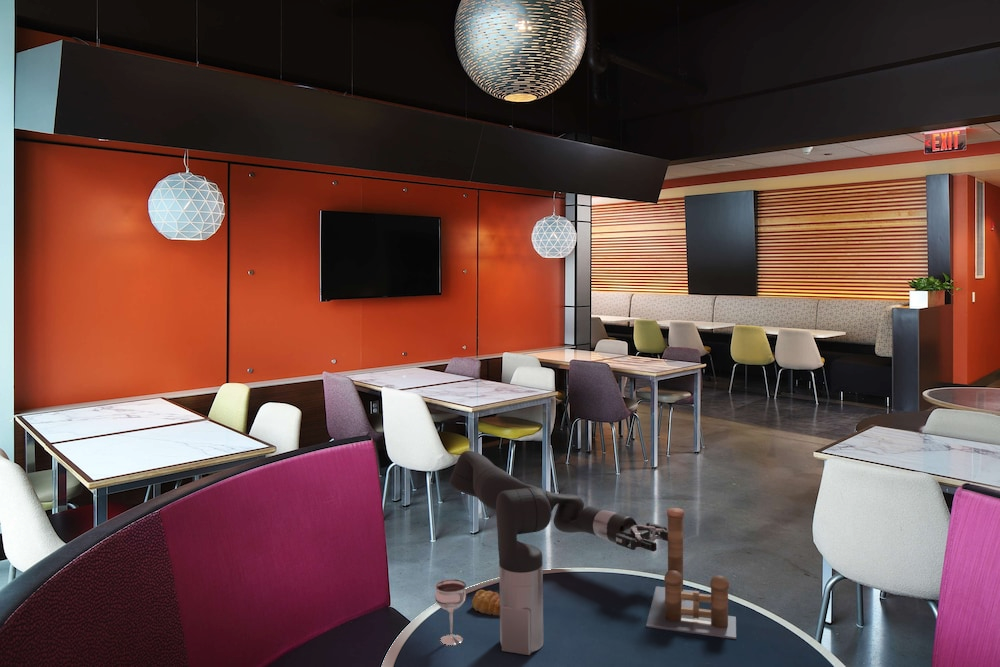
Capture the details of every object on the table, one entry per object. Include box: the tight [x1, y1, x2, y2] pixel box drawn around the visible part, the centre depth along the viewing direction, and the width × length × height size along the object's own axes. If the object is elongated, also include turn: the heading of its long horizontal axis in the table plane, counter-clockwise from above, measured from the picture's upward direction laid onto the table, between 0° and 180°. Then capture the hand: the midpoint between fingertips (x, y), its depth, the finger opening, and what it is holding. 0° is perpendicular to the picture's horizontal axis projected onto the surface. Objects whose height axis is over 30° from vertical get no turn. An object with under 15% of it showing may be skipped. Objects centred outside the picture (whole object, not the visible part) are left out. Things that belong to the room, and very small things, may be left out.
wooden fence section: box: [666, 507, 685, 591], centre depth 165 cm, size 12×4×21 cm, turn 164°
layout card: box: [645, 585, 737, 640], centre depth 162 cm, size 22×19×1 cm
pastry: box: [471, 589, 500, 616], centre depth 164 cm, size 9×7×4 cm
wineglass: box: [434, 578, 467, 647], centre depth 150 cm, size 7×7×12 cm
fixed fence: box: [663, 570, 730, 628], centre depth 156 cm, size 4×14×12 cm, turn 71°
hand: (666, 543), depth 171 cm, fingers open, 8 cm apart
